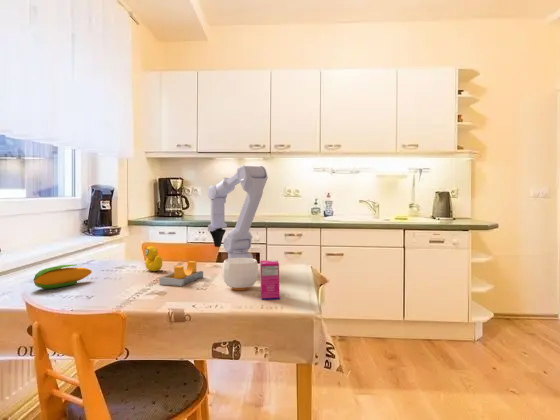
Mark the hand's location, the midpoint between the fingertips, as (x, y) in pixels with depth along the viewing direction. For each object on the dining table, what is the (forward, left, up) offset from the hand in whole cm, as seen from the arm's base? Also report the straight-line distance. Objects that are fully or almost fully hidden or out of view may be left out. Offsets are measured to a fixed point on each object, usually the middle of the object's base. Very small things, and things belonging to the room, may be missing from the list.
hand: (217, 246), depth 174 cm
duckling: (+24, +11, -10) cm, 28 cm away
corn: (+40, +42, -10) cm, 58 cm away
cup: (-21, +28, -10) cm, 36 cm away
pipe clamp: (+3, +24, -10) cm, 26 cm away
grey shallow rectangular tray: (+4, +24, -9) cm, 26 cm away
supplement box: (-34, +36, -10) cm, 50 cm away
